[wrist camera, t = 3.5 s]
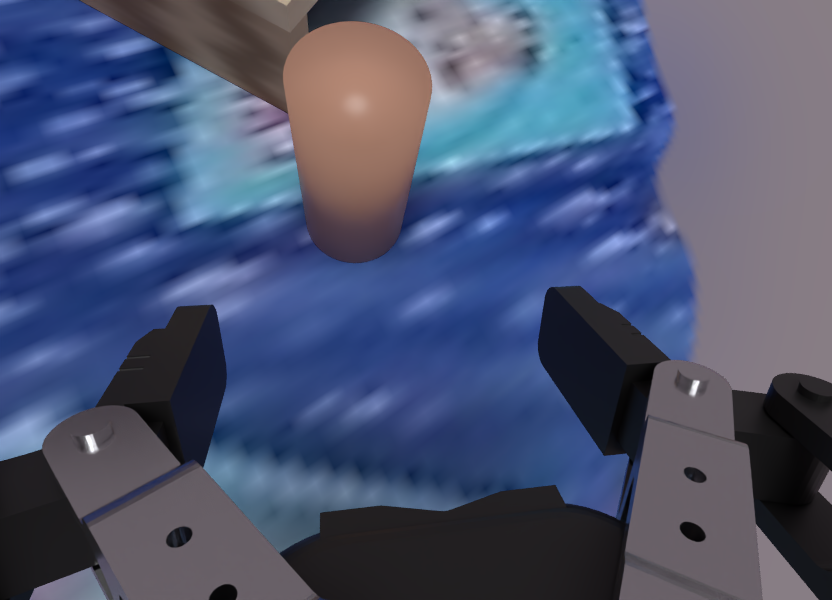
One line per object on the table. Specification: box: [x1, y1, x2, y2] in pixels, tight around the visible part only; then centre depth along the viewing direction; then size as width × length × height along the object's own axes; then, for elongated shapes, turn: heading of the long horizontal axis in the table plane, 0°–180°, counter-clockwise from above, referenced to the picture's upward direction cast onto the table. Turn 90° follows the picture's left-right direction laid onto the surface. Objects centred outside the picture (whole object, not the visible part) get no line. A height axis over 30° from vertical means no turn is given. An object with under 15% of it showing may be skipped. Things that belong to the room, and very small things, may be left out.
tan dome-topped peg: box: [283, 21, 432, 263], centre depth 24 cm, size 5×5×11 cm
